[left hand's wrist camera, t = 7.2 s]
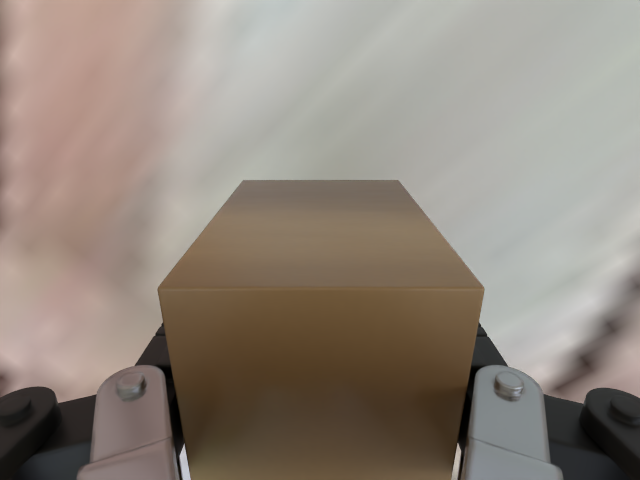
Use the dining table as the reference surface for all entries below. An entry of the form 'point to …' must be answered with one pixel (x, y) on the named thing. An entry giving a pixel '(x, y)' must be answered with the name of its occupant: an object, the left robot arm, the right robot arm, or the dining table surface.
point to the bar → (320, 336)
